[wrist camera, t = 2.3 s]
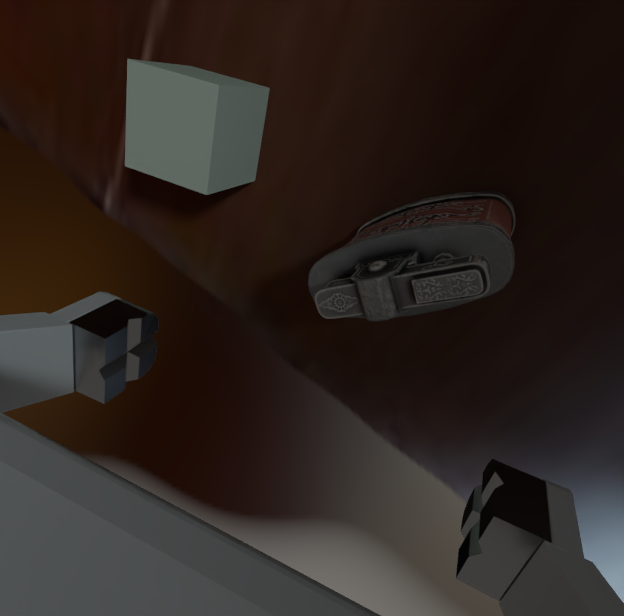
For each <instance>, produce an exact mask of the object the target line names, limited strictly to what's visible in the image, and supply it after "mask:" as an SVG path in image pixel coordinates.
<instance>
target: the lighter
mask: <svg viewBox="0 0 624 616" xmlns="http://www.w3.org/2000/svg"><path fill="white" fill-rule="evenodd" d="M514 228H515V210H514V207H513V204H512V203H511V201H510V200H509V199H508V198H507V197H506V196H505V195H503V194H501V193H499V192H494V191H481V192H464V193H454V194H448V195H443V196H437V197H432V198H426V199H422V200H419V201H416V202H413V203H410V204H407V205H404V206H401V207H398V208H395V209H393V210H391V211H389V212H386V213H384V214H382V215H380V216H378V217H376V218H374V219H371V220H369V221H368V222H367V223H366V224H364V225H363V226H362V227H361V228H360V229H359V230H358V232H357V234H356V236H355V237H354V238H353V239H352V240H350V241H349V242H348V243H347V244H346V245H344V246H343V247H342V248H340V249H338V250H335V251H333V252H331V253H329V254H327V255H325V256H324V257H323V258H321V259H320V260H319V261H318V262H316V263H315V264H314V265H313V267H312V269H311V271H310V272H309V279H308V285H309V291H310V294H311V296H312V298H313V300H314V302H315V303H316V306H317V309H318V311H319V314H320V315H321V316H322V317H324V318H326V319H335V318H342V317H348V318H365V319H367V320H368V321H372V322H376V321H383V320H388V319H392V318H394V317H402V316H413V315H418V314H423V313H428V312H433V311H437V310H442V309H447V308H452V307H455V306H458V305H461V304H464V303H467V302H470V301H473V300H477V299H480V298H483V297H486V296H489V295H492V294H494V293H496V292H498V291H499V290H501V289H503V288H504V287H505V285H506V284H507V283H508V282H509V281H510V279H511V276H512V273H513V271H514V262H515V261H514V247H513V244H512V242H511V236H512V234H513V231H514Z"/></svg>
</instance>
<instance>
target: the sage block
mask: <svg viewBox="0 0 624 616" xmlns="http://www.w3.org/2000/svg"><path fill="white" fill-rule="evenodd" d="M269 89H270V88H267V87H264V86H260V85H257V84H253V83H250V82H246V81H242V80H239V79H235V78H232V77H228V76H224V75H221V74H217V73H214V72H210V71H207V70H203V69H199V68H196V67H192V66H186V65H177V64H168V63H159V62H150V61H141V60H133V59H128V62H127V102H126V143H125V166H126V167H129V168H132V169H135V170H137V171H140V172H143V173H146V174H149V175H152V176H154V177H157V178H160V179H163V180H166V181H168V182H171V183H174V184H177V185H180V186H182V187H185V188H188V189H191V190H194V191H197V192H199V193H202V194H205V195H209V194H212V193H216V192H219V191H223V190H226V189H229V188H233V187H236V186H239V185H243V184H246V183H250V182H253V181H255V177H256V171H257V165H258V158H259V152H260V146H261V140H262V133H263V127H264V121H265V114H266V108H267V102H268V96H269Z"/></svg>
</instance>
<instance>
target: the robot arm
mask: <svg viewBox="0 0 624 616" xmlns="http://www.w3.org/2000/svg"><path fill="white" fill-rule="evenodd" d="M157 331H158V317H157V316H156V315H155V314H154V313H152V312H150V311H148V310H145V309H143V308H141V307H139V306H137V305H134V304H132V303H130V302H128V301H126V300H123V299H120V298H119V297H116V296H114V295H112V294H110V293H107V292H98V293H96V294H94V295H91V296H89V297H87V298H85V299H82V300H81V301H78V302H76V303H74V304H71V305H69V306H67V307H65V308H62V309H61V310H58V311H56V312H54V313H52V314H48V313H45V312H39V313H26V314H13V315H0V616H380V615H378V614H377V613H375V612H373V611H371V610H369V609H367V608H365V607H363V606H362V605H360V604H358V603H356V602H354V601H352V600H350V599H349V598H347V597H345V596H343V595H341V594H339V593H337V592H335V591H334V590H332V589H330V588H328V587H326V586H324V585H322V584H321V583H319V582H317V581H315V580H313V579H311V578H309V577H307V576H306V575H304V574H302V573H300V572H298V571H296V570H294V569H292V568H291V567H289V566H287V565H285V564H283V563H281V562H279V561H278V560H275V559H274V558H272V557H270V556H268V555H266V554H265V553H263V552H261V551H259V550H257V549H255V548H253V547H252V546H250V545H248V544H246V543H244V542H242V541H240V540H238V539H237V538H235V537H233V536H231V535H229V534H227V533H225V532H223V531H222V530H219V529H218V528H216V527H214V526H212V525H210V524H208V523H207V522H205V521H203V520H201V519H199V518H197V517H195V516H193V515H192V514H190V513H188V512H186V511H184V510H182V509H180V508H179V507H176V506H175V505H173V504H171V503H169V502H167V501H165V500H164V499H162V498H160V497H158V496H156V495H154V494H152V493H150V492H149V491H147V490H145V489H143V488H141V487H139V486H137V485H135V484H134V483H132V482H130V481H128V480H126V479H124V478H122V477H120V476H118V475H117V474H115V473H113V472H111V471H109V470H107V469H105V468H104V467H102V466H100V465H98V464H96V463H94V462H92V461H90V460H89V459H87V458H84V457H83V456H81V455H79V454H77V453H76V452H74V451H72V450H70V449H68V448H66V447H64V446H62V445H61V444H59V443H57V442H55V441H53V440H51V439H49V438H47V437H46V436H44V435H42V434H40V433H38V432H36V431H34V430H32V429H31V428H29V427H27V426H25V425H23V424H21V423H19V422H17V421H16V420H14V419H12V418H10V417H8V416H6V415H4V414H2V413H3V412H6V411H10V410H14V409H17V408H20V407H24V406H28V405H31V404H34V403H38V402H41V401H45V400H48V399H52V398H55V397H58V396H62V395H66V394H69V393H73V392H74V390H75V391H77V392H79V393H82V394H84V395H86V396H88V397H90V398H92V399H95V400H97V401H99V402H101V403H103V404H105V403H107V402H108V401H109V400H111V399H112V398H113V397H115V396H116V395H117V394H119V393H120V392H122V391H123V390H124V389H125V386H126V382H127V381H131V380H137V379H139V378H140V377H142V376H143V375H144V374H145V373H146V372H147V371H148V370H149V368H150V367H151V365H152V364H153V362H154V359H155V356H156V350H157V345H156V342H155V340H154V338H153V336H152V335H153V334H154V333H156V332H157ZM461 533H462V535H463V536H464V538H465V539H464V541H463V543H462V545H461V546H460V548H459V552H458V563H457V572H456V573H457V574H456V579H458V580H460V581H462V582H464V583H466V584H468V585H469V586H471V587H473V588H475V589H477V590H479V591H481V592H483V593H485V594H486V595H488V596H490V597H492V598H494V599H496V600H498V601H500V603H499V604H500V607H501V609H502V612H503V614H504V616H624V603H623V602H622V601H621V599H620V598H619V597H618V595H617V594H616V593H615V591H614V590H613V589H612V588H611V586H610V585H609V584H608V582H607V581H606V580H605V578H604V577H603V576H602V574H601V573H600V572H599V570H598V569H597V568H596V566H595V565H594V564H593V562H591V561H588V560H586V559H584V554H583V549H582V543H581V538H580V532H579V527H578V521H577V515H576V510H575V504H574V499H573V494H572V493H571V491H570V490H569V489H566V488H564V487H561V486H559V485H556V484H554V483H551V482H549V481H546V480H544V479H543V480H541V479H539V478H537V477H534V476H532V475H529V474H527V473H525V472H522V471H520V470H518V469H515V468H513V467H511V466H508V465H506V464H503V463H501V462H499V461H496V460H494V459H492V460H491V461H490V462H489V463H488V465H487V466H486V468H485V470H484V472H483V480H482V485H480V486H477V487H475V488H474V490H473V492H472V493H471V495H470V497H469V499H468V502H467V505H466V508H465V510H464V514H463V519H462V525H461Z"/></svg>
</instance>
